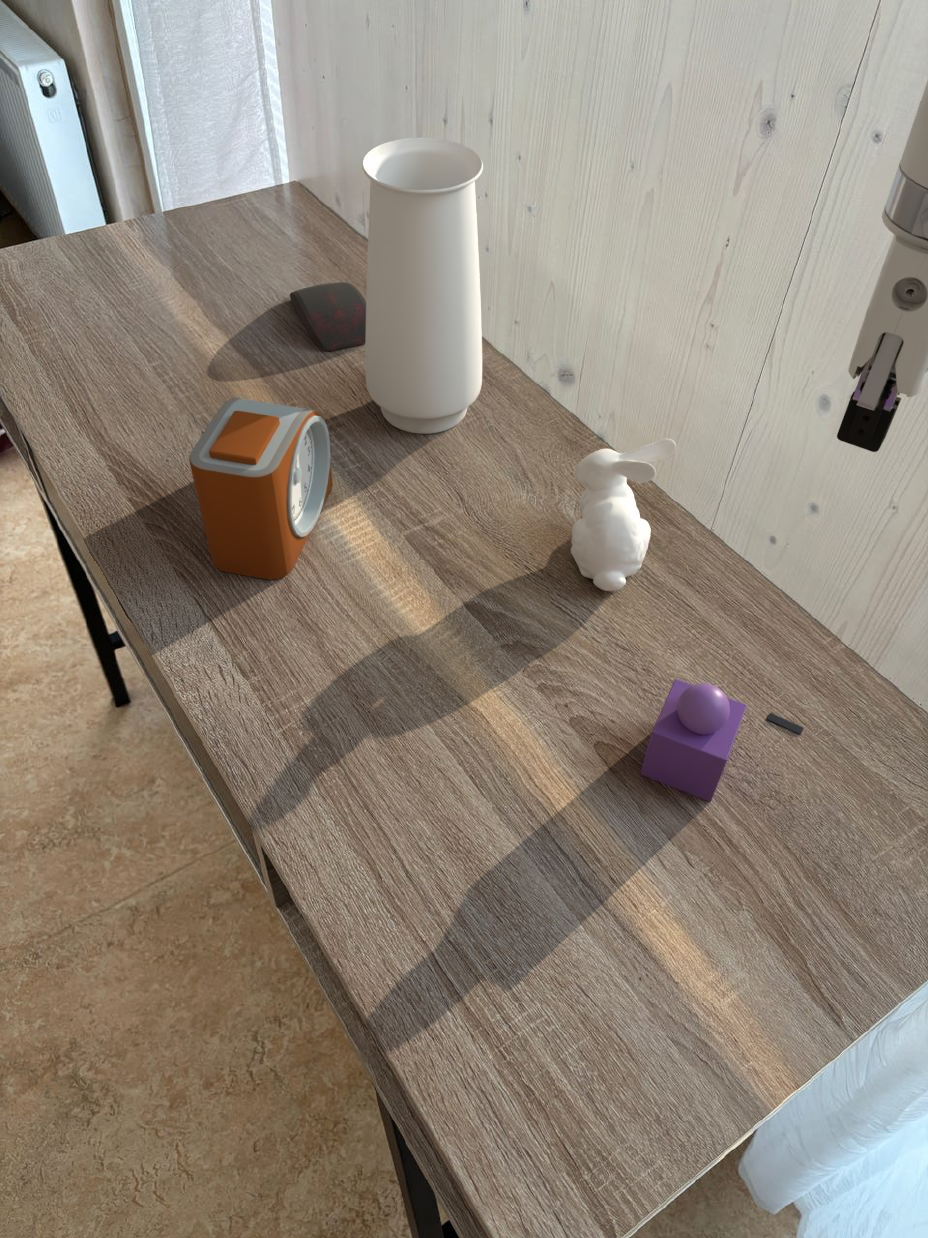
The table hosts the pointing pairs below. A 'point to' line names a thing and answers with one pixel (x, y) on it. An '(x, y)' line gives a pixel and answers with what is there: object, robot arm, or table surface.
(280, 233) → the table surface
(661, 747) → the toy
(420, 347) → the vase
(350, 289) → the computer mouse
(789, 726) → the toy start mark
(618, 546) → the rabbit
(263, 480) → the alarm clock
